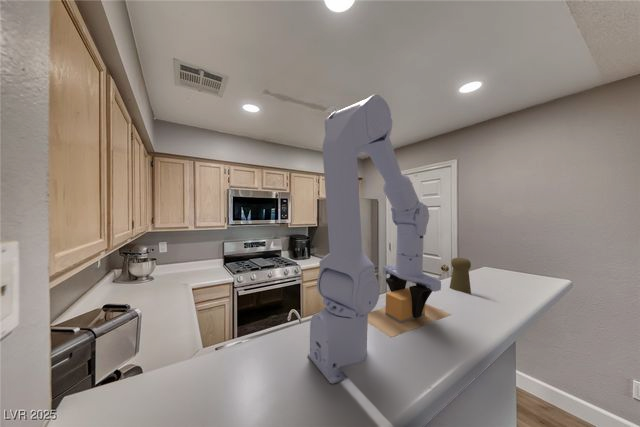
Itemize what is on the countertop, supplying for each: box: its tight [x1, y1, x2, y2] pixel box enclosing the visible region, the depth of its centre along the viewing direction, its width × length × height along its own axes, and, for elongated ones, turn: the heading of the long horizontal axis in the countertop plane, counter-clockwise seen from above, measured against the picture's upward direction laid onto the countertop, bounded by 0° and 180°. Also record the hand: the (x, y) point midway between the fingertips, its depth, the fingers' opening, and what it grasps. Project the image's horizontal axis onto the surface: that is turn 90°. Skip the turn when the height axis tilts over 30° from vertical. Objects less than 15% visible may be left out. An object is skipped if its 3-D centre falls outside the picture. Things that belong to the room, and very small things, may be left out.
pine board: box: [368, 303, 452, 338], centre depth 53 cm, size 20×10×2 cm, turn 120°
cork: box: [449, 257, 472, 296], centre depth 72 cm, size 6×6×11 cm
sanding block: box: [385, 287, 425, 323], centre depth 53 cm, size 8×4×5 cm, turn 120°
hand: (407, 311), depth 54 cm, fingers closed on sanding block, 4 cm apart
